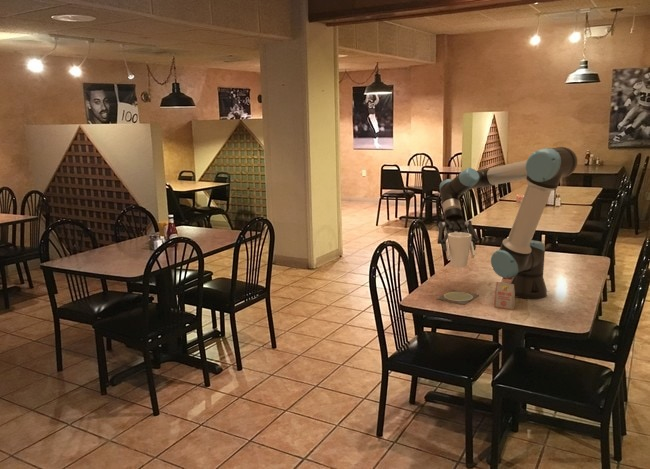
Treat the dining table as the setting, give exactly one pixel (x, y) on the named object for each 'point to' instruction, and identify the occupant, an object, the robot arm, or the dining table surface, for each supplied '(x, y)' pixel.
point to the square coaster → (458, 297)
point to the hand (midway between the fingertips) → (461, 256)
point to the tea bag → (504, 296)
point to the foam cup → (459, 248)
